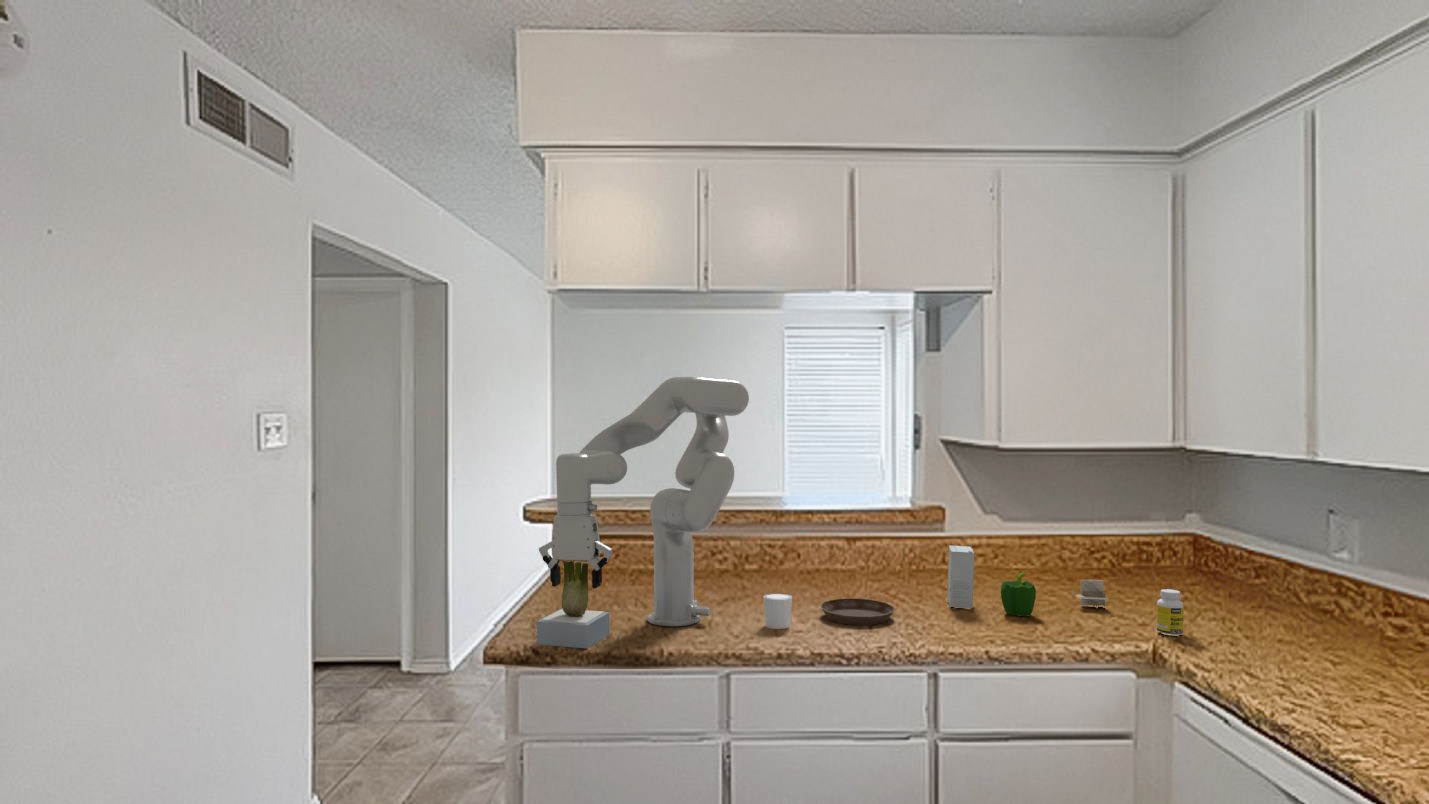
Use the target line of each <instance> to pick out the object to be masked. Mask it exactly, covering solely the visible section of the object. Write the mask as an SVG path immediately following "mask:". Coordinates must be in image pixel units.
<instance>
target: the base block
mask: <svg viewBox="0 0 1429 804" xmlns="http://www.w3.org/2000/svg"><path fill="white" fill-rule="evenodd" d="M609 635H610V612H609V611H608V612H607V611H603V610H602V611H601V610H599V611H598V610H587V609H586V611H585V614H583V615H579V616H571V615H567V614H565V613H564V611H563V609H562V608H560V609H558V610H556V611H554V612H552V613H550V614H548V615H547V616H544V617H541V618H540V619H539V620H537V621H536V645H539V646H552V647H565V648H575V649H590V648H591V647H593V646H594V645H596V644H597V643H599V642H600V641H602V640H604V639H605V638H606V637H608V636H609Z"/></svg>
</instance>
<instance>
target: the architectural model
mask: <svg viewBox="0 0 1429 804" xmlns="http://www.w3.org/2000/svg"><path fill="white" fill-rule="evenodd" d="M1104 586H1105V585H1104V580H1101V579H1100V580H1098V579H1096V580H1095V579H1080V593H1079V594H1075V597H1076V598H1077V599H1080V606H1081V605H1093V606H1095V605H1096V606H1097V605H1098V606H1099V605H1104V606H1106V607H1107V595H1106V590H1104V589H1105V588H1104Z"/></svg>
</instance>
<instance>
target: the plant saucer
mask: <svg viewBox="0 0 1429 804" xmlns="http://www.w3.org/2000/svg"><path fill="white" fill-rule="evenodd" d="M820 608H821V610H822V612H823V613H824V614H825V615H826V617H827V618H828V619H829V620H831V621H832V622H835V623H839V624H844V625H851V626H856V625H857V626H872V625H879V624H882V623H885V622H887V620H889V619H890V617H891V616H892V615H893V613H894V612H895V607H894V606H893V605H891V604H889V603H888V602H887V603H886V602H883V601H879V600H875V599H868V598H852V597H850V598H836V599H831V600H827V601H824V602H822V603H821V604H820Z"/></svg>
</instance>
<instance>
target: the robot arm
mask: <svg viewBox="0 0 1429 804" xmlns="http://www.w3.org/2000/svg"><path fill="white" fill-rule="evenodd" d="M749 396H750V395H749V392H748V390H747V388H746V387H745V385H744V384H742V383H741V382H739V381H736V380H730V379H729V380H728V379H717V378H706V377H701V376H700V377H699V376H676V377H675V376H673V377H670V378H668V379H666V380H664V381H663V382H662V383H661V384H660V385H659V386H658V387H657V388H656V389H655V390H654V391H652V393H651V394H650V395H649V396H647V398H645V399H644V401H642V403H641V404H639V405H638V406H636V408H635V409H634V410H633V411H632V412H630V414H628V415H626V416H624V417H621V419H619V420H618V421H616V422H615V423H613V424H612V425H609V426H608V427H607V428H605V429H603V430H602V431H601V432H599V433H598V434H597V435H596V436H594V437H593V438H591V440H590V441H589V442H588V443H586V445H584V447H582V449H581V450H580V451H579V452H573V453H572V452H571V453H569V452H568V453H562V454H559V455H558V456H557V458H556V461H555V473H556V474H555V475H556V476H555V477H556V510H557V511H556V513H557V514H555V515H554V520H553V525H552V530H551V531H552V532H551V541H549V542H547V543H546V544H544V545H542V546H540V547H539V548H538V552H539V553H540V556H541V558H542V561H543V562H544V563H545V564H546V566H547V567H548V569H549V570H550V573H549V575H550V578H549V579H550V582H551V587H553V588H555V587H558V586H559V585H560V584H561V583H562V582H561V581H562V579H561V578H562V577H561V575H562V574H561V573H562V572H561V567H560V565H559V564H560V563H561V561H562V562H570V561H573V562H588V564H590V565H591V567H592V568H593V570H592V571H591V588H592V589H597V588H600V587H601V584H602V582H603V568H604V567H605V565H606V564H607V563H608V562H609V561H610V558H611V557H612V554H613V549H612V548H611V547H609V546H607V545H606V544H604V543H602V542H601V540H600V531H599V524H598V520H597V517H596V514H592V513H593V512H594V511H597V509H598V505H597V504H594V503H593V500H592V485H607V486H608V485H609V486H611V485H614V484H617V483H620V481H622V480H624V478H625V476H626V474H627V472H628V463H627V460H626V459H625V458H624V456H623V455H622V454H623V453H625V452H627V451H629V450H632V449H634V448H635V449H636V448H637V447H641V446H645V445H647V444H650V443H651V442H652V443H653V442H654V441H656V440H657V439H659V438H660V437H661V436H662V434H663V433H664V432H666V430H667V429H668V428H669V427H670V426H672V424H673V423H675V421H676V420H677V419H678V418H679V417H680V416H681V415H682V414H684V413H687V414H688V413H691V414H692V413H694V414H695V421H696V428H695V431H694V434H693V436H692V437H691V439H690V441H689V443H688V445H687V447H686V448H685V451H684V452H683V454H682V456H681V457H680V459H679V461H678V463H677V465H676V469H675V472H674V473H675V479H676V481H677V483H678V484H679V485H680V486H682V487H684V488H686V489H681V488H674V487H673V488H672V487H671V488H664V489H662V490H659V491H658V492H657V493H655V495H654V496H653V498H652V499H651V502H650V505H649V507H650V508H649V514H650V521H651V526H652V533H653V601H654V602H653V611H652V612H650V613H649V614H648V615H647V622H649V624H652V625H654V626H656V625H657V626H662V627H685V626H686V627H687V626H692V625H694V623H695V624H697V623H699V622H700V621H701V616H702V617H710V616H711V608H710V607H708V606H705V605H704V606H703V605H702V606H700V605H699V604H698V600H697V599H694V582H695V581H694V579H695V578H694V575H695V574H694V566H695V565H694V559H695V557H694V556H695V554H694V553H695V550H694V549H695V548H694V547H695V546H694V540H693V535H692V533H693V534H694V533H695V534H696V533H702V532H704V531H706V530H707V529H708V528H709V527H710V526H711V525H712V523H713V522H714V521H715V518H716V517H717V515H718V514H719V511H720V509H721V507H722V505H723V504H724V502H725V500H726V499H727V496H728V494H729V493H730V491H731V488H732V485H733V483H734V479H735V467H734V464H733V461H732V459H731V458H730V457H729V456H727V455H726V454H725V453H724V451H725V449H726V447H727V445H728V441H729V433H730V432H729V426H728V424H727V423H728V422H727V419H726V417H727V416H728V417H733V416H734V417H735V416H739V415H740V414H742V413H743V412H744V411H745V410H746V409H747V407H748V405H749V400H750V399H749V398H750V397H749ZM687 489H690V490H687ZM550 549H551V554H550V553H549V550H550ZM601 553H603V557H602V558H601V559H600V558H599V557H600V556H601Z"/></svg>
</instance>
